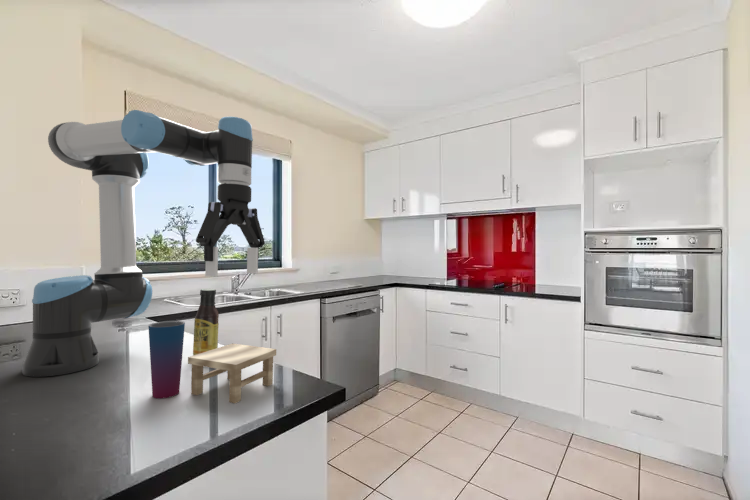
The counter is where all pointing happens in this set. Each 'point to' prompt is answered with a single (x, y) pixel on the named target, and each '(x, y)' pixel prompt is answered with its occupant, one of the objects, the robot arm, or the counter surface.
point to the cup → (166, 357)
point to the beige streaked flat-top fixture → (232, 367)
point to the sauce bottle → (206, 323)
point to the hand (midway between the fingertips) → (233, 274)
